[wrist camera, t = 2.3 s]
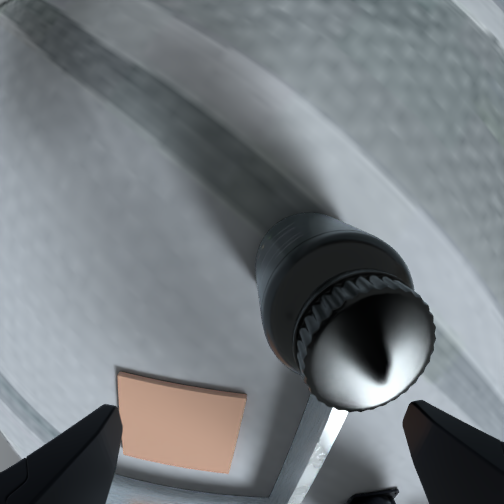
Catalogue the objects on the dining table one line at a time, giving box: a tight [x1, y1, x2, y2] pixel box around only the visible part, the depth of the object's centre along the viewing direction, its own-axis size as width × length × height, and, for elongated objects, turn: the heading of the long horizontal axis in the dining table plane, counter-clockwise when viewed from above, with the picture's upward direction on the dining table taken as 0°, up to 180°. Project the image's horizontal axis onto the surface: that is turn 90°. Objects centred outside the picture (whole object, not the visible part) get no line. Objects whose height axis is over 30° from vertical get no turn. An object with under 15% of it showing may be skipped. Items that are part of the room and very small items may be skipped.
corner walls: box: [106, 394, 348, 504], centre depth 22 cm, size 20×20×4 cm
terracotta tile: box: [117, 371, 247, 474], centre depth 24 cm, size 10×10×1 cm
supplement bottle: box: [255, 213, 436, 412], centre depth 15 cm, size 7×7×12 cm
